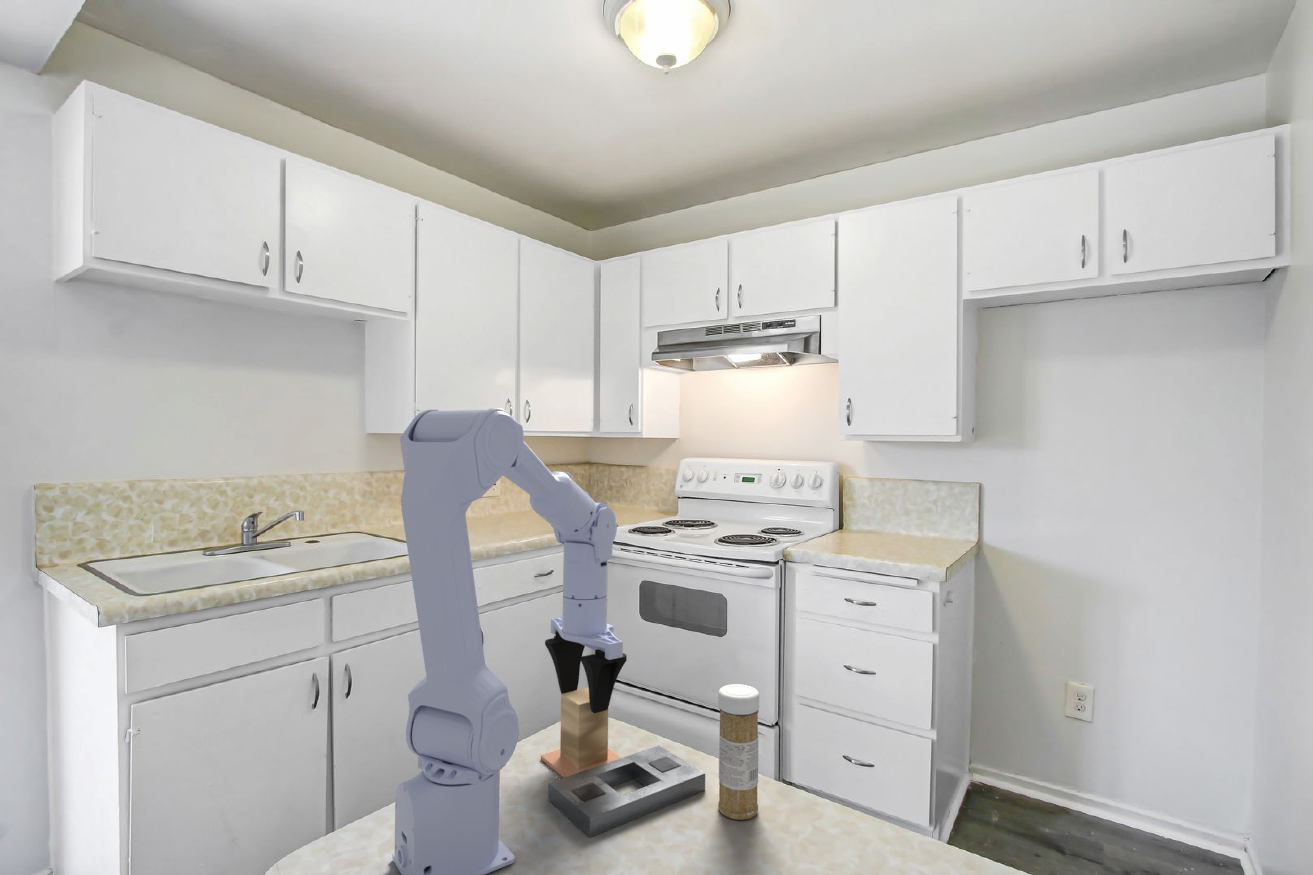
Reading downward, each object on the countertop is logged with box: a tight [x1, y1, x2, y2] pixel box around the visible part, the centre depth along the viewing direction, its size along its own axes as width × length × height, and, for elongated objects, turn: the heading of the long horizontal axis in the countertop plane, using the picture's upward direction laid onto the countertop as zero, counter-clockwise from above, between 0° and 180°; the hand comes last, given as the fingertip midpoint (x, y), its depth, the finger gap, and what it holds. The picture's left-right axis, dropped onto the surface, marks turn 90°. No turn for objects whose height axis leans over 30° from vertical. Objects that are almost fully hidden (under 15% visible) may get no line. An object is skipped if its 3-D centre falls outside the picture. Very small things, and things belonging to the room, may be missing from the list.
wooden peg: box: [559, 686, 609, 770], centre depth 85 cm, size 4×4×8 cm
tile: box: [540, 748, 622, 778], centre depth 85 cm, size 8×8×1 cm
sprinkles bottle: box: [717, 683, 760, 821], centre depth 74 cm, size 5×5×14 cm
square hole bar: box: [547, 745, 706, 838], centre depth 77 cm, size 16×9×2 cm, turn 127°
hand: (583, 701), depth 85 cm, fingers open, 7 cm apart
